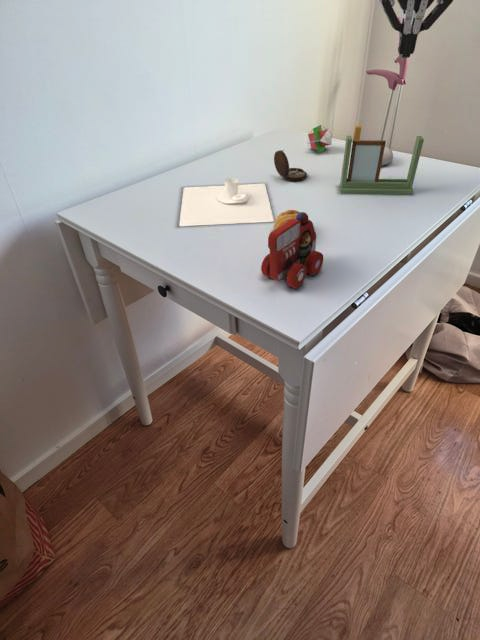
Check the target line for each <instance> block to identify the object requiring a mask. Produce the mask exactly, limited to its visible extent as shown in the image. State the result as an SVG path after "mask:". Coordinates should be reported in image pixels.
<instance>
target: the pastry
mask: <svg viewBox="0 0 480 640" xmlns="http://www.w3.org/2000/svg"><path fill="white" fill-rule="evenodd" d="M300 212H301V211H298V210H296V209H287V210H285V211H281V213H279V214H278V215H277V216H276V218H275V219H274V224H273V230H275V229H277V228H278V227H280V226H282V225H283V224H285V223H286V222H288V221H289V220H291V219H296V216H297V215H298V214H299V213H300Z"/></svg>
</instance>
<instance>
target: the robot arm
mask: <svg viewBox="0 0 480 640" xmlns="http://www.w3.org/2000/svg"><path fill="white" fill-rule="evenodd" d="M434 2H435V4H436V5H435V6H434V8H433V9H431V11H430V12H429V13H428V15H427V16H426V17H425V15H426V10H428V9H429V8H430V7H431V5H432V4H433V3H434ZM453 2H454V0H397V3H398V5H399V7H400V9H401V10H402V13H401V21H400V19H399V17H398V15H397V14H396V12H395V10H394V6H395V3H396V0H379V4H380V6H381V8H382V10H383V12H384V14H385V16H386V19H387V20H388V22H389V24H390V26H391V27H392V29H393V30H395V31H397V32H399V34H400V36H399V42H398V47H397V53H398V54H399V56H400V58H401V59H405V58H406V59H409V58H410V57H411V55H413V54H414V53H415V50H416V45H417V40H418V35H419V34H420V33H421V32H423V31H428V30H429V29H430V28H431V27H432V26H433V25H434V24H435V23H436V22H437V20H438V19H439V18H440V17H441V16H442V15H443V14H444V13H445V11H446V10H447V9H448V8H449V7H450V5H452V3H453Z"/></svg>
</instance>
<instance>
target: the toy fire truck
mask: <svg viewBox="0 0 480 640" xmlns="http://www.w3.org/2000/svg"><path fill="white" fill-rule="evenodd" d="M299 212H300V213H299V214H298V215H297V216H296V219H291V220H289V221H288V222H286V223H285V224H283V225H282V226H280V227H278V228H277V229H273V230H272V231H270V232H269V234H268V237H267V248H268V249H269V253H267V255H265V257H264V258H263V260H262V263H261V267H260V271H261V274H262V275H263V276H264V277H268V278H269V279H272V280H274V281H281V280H282V279H286V284H287V286H288V287H290V288H292V289H298V288H300V287H301V286H302V284H303V283H304V282H305V279H306V276H307V274H308V275H311V276H315V275H317V274H318V273H319V272H320V271H321V269H322V267H323V264H324V259H325V258H324V254H323V253H322V252H320V251H318V250H316V246H317V245H316V244H317V234H316V230H315V226H314V223H313V221H312V220H310V219H309V214H307V212H304V211H299Z"/></svg>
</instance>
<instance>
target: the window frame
mask: <svg viewBox="0 0 480 640" xmlns="http://www.w3.org/2000/svg"><path fill="white" fill-rule="evenodd" d="M352 143H353V137H352V135H346V138H345V146H344V151H343V152H344V153H343V161H342V167H341V176H340V182H339V191H340V194H346V195H347V194H348V195H350V194H352V195H353V194H354V195H404V196H405V195H409V196H410V195H412V194H413V185H414V181H415V178H416V173H417V170H418V165H419V162H420V157H421V153H422V149H423V145H424V138H423V136H422V135H416V138H415V141H414V146H413V150H412V154H411V159H410V164H409V168H408V171H407V172H408V173H407V177H406V178H379V180H378V182H347V178H348V171H349V164H350V157H351V150H352Z"/></svg>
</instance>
